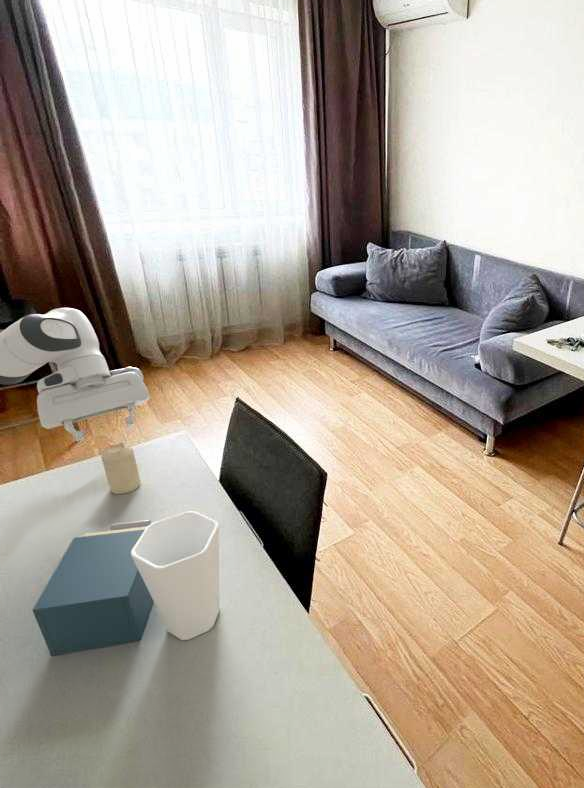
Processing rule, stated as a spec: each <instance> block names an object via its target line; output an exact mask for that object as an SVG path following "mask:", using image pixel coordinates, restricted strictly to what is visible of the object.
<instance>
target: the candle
mask: <svg viewBox="0 0 584 788" xmlns="http://www.w3.org/2000/svg"><path fill="white" fill-rule="evenodd" d="M100 458H101V462H102V465H103V469H104V472H105V477H106V480H107V483H108V486H109V489H110V492H111V493H112V494H116V495H124V494H127V493H130V492H133V491H135V490H137V489H138V487H140V485H141V477H140V473H139V468H138V464H137V460H136V457H135V453H134V448H133V447H132V446H131V445H128V444H126V443H124V442H119V443H117V444H110V445H108V446H107V448H106V449H105V450H104V451H103V452H102V453H101V455H100ZM123 493H124V494H123Z"/></svg>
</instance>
